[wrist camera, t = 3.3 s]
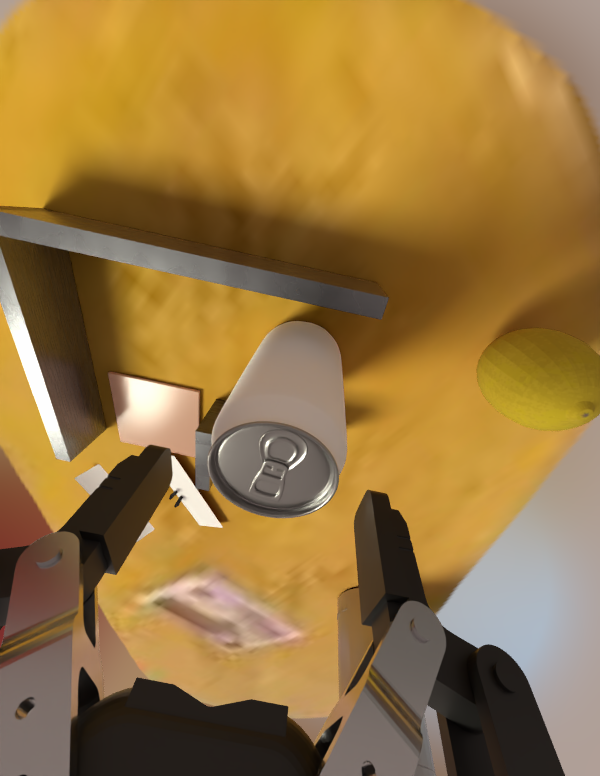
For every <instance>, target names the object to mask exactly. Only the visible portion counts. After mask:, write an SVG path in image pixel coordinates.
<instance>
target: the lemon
mask: <svg viewBox="0 0 600 776" xmlns="http://www.w3.org/2000/svg"><path fill="white" fill-rule="evenodd" d="M477 382H478V385H479V387H480V389H481V391H482V394H483V395H484V397H485V398H486V400H487V401H488V402H489V403H490V404H491V405H492V406H493V407H494V408H495V409H496V410H497V411H498V412H499V413H501V414H502V415H504V416H505V417H507V418H509V419H510V420H512V421H514V422H516V423H518V424H520V425H522V426H525V427H528V428H532V429H536V430H541V431H561V430H568V429H572V428H575V427H579V426H581V425H583V424H586V423H588V422H590V421H591V420H593V419H594V418H596V417H597V416H598V415H599V414H600V356H599V355H598V354H597V353H596V352H595V351H594V350H593V349H592V348H591V347H590V346H588V345H587V344H586V343H584V342H583V341H581V340H579V339H578V338H575V337H573V336H570V335H568V334H566V333H563V332H560V331H557V330H552V329H544V328H527V329H519V330H516V331H513V332H510V333H507V334H505V335H503V336H501V337H499V338H497V339H496V340H495V341H493V342H492V343H491V344H490V345H489V346H488V347H487V348H486V349H485V350H484V352H483V353H482V355H481V357H480V359H479V362H478V366H477Z"/></svg>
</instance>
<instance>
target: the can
mask: <svg viewBox="0 0 600 776" xmlns="http://www.w3.org/2000/svg"><path fill="white" fill-rule="evenodd" d="M211 442H212V447H211V449H210V451H209V454H208V459H207V466H208V472H209V475H210V478H211V480H212V482H213V484H214V485H215V487H216V488H217V489H218V491H219V492H220V493H221V494H222V495H223V496H224V497H225V498H226V499H228V500H229V501H230V502H232V503H233V504H235V505H236V506H238V507H240V508H242V509H244V510H246V511H249V512H251V513H254V514H258V515H261V516H266V517H273V518H294V517H300V516H304V515H307V514H310V513H313V512H315V511H317V510H319V509H320V508H322V507H323V506H324V505H326V504H327V503H328V502H329V501H330V500H331V498H332V497H333V496H334V494H335V492H336V490H337V487H338V483H339V475H340V473H341V471H342V469H343V467H344V464H345V461H346V455H347V433H346V416H345V401H344V387H343V374H342V362H341V354H340V350H339V347H338V345H337V343H336V341H335V340H334V338H333V337H332V336H331V335H330V334H329V333H328V332H327V331H326V330H325V329H324V328H322V327H320V326H318V325H316V324H313V323H309V322H303V321H291V322H286V323H283V324H281V325H279V326H277V327H275V328H274V329H273V330H271V331H270V332H269V333H268V334H267V335H266V337H265V338H264V339H263V341H262V343H261V344H260V346H259V347H258V349H257V351H256V352H255V354H254V355H253V357H252V359H251V360H250V362H249V364H248V365H247V367H246V369H245V370H244V372H243V374H242V375H241V377H240V379H239V380H238V382H237V384H236V385H235V387H234V389H233V390H232V392H231V394H230V395H229V397H228V399H227V401H226V402H225V404H224V406H223V407H222V409H221V411H220V413H219V415H218V417H217V419H216V421H215V424H214V426H213V430H212V439H211Z"/></svg>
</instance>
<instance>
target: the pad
mask: <svg viewBox="0 0 600 776" xmlns="http://www.w3.org/2000/svg"><path fill="white" fill-rule="evenodd" d="M108 376H109V382H110V387H111V393H112V398H113V403H114V409H115V414H116V419H117V425H118V430H119V435H120V441H121V442H125V443H130V444H135V445H139V446H144V447H147V446H148V445H156V446H161V447H166V448H170V450H171V452H172V453H177V454H182V455H186V456H191V457H195V431H196V429H197V428H198V426H199V425H200V391H199V390H195V389H190V388H185V387H181V386H176V385H171V384H167V383H162V382H157V381H153V380H148V379H144V378H139V377H134V376H130V375H125V374H120V373H116V372H111V371H110V372H108Z"/></svg>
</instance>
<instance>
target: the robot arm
mask: <svg viewBox="0 0 600 776" xmlns="http://www.w3.org/2000/svg"><path fill="white" fill-rule="evenodd" d="M172 476H173V472H172V458H171V450H170V448H166V447H161V446H156V445H148V446H147V447H146V448H145V449H144V451H143V452H142V453H141V454H140V456H134V455H131V456H130V457H128V458H126V459H125V460H123V461H122V462H120V463H119V464H117V465H116V467H115V468H114V469H113V470H112V471H111V472H110V473H109V475H108V477H107V478H105V479H104V480H103V481H102V483H101V484H100V485H99V487H98V488H96V490H95V491H94V492H93V493H92V494H91V495H90V496H89V498H88V499H87V500H86V501H85V502H84V503H83V504H82V506H81V507H80V508H79V509H78V510H77V511H76V512H75V514H74V515H73V516H72V517H71V518H70V519H69V520H68V522H67V523H66V524H65V525H64V526H63V527H62V528H61V529H60V530H59V531H57V532H55V533H51V534H49V535H46V536H44V537H42V538H40V539H38V540H37V541H35V542H34V543H32V544H31V545H29V546H23V547H16V548H8V549H0V630H1V628H2V627H3V626H4V625H6V626H5V632H4V638H3V642H2V645H1V648H0V776H436V774H435V769H434V763H433V758H432V752H431V747H430V742H429V736H428V731H427V726H426V720H425V715H424V713H425V710H426V707H427V705H428V706H430V707H431V708H433V709H434V710H436V712H437V717H438V723H439V729H440V734H441V740H442V746H443V751H444V757H445V763H446V768H447V774H448V776H565V774H564V772H563V769H562V767H561V764H560V762H559V759H558V757H557V754H556V751H555V749H554V746H553V744H552V741H551V739H550V736H549V734H548V731H547V728H546V726H545V723H544V721H543V718H542V715H541V713H540V710H539V708H538V705H537V703H536V700H535V698H534V695H533V692H532V690H531V687H530V685H529V683H528V680H527V678H526V676H525V675H524V673H523V671H522V670H521V668H520V667H519V666H518V664H517V663H516V662H515V661H514V660H513V659H512V658H511V656H509V655H508V654H507V653H506V652H505V651H503V650H502V649H500V648H498V647H496V646H493V645H484V646H482V647H480V648H479V649H478V648H476V647H475V646H473V645H471V644H470V643H468V642H466V641H464V640H463V639H461V638H459V637H458V636H456V635H454V634H453V633H451V632H450V631H448V630H447V629H446V628H444V627H443V626H442V625H441V623H440V621H439V619H438V618H437V616H436V615H435V614H434V613H433V612H432V611H431V610H430V608H429V606H428V604H427V601H426V598H425V594H424V590H423V586H422V582H421V578H420V574H419V570H418V566H417V562H416V558H415V555H414V553H413V547H412V543H411V541H410V535H409V531H408V527H407V523H406V522H405V520H404V519H403V517H402V515H401V514H400V512H399V510H394V509H391V507H390V502H389V497H388V495H387V494H386V493H381V492H376V491H371V490H367V491H366V493H365V495H364V497H363V499H362V501H361V503H360V505H359V508H358V510H357V512H356V515H355V520H354V532H355V545H356V558H357V571H358V584H359V588H354V589H350V590H348V591H345V592H344V593H342V594H341V595H340V596H339V598H338V613H337V619H338V666H339V701H338V703H337V704H336V705H335V707H334V708H333V710H332V712H331V713H330V715H329V717H328V718H327V720H326V722H325V724H324V725H323V727H322V729H321V731H320V733H319V735H318V736H317V738H316V740H315V742H314V744H313V742H312V741H311V739H310V738H309V736H308V735H307V734H306V733H305V731H304V730H303V729H302V728H301V727H300V726H299V725H298V724H297V723H296V722H295V721H293V720H292V719H291V718H289V717H288V716H287V715H288V706H283V705H278V704H273V703H267V702H262V701H257V700H252V699H251V700H246V701H241V702H236V703H230V704H225V705H220V706H215V707H208V706H206V705H204V704H203V703H201V702H200V701H198V700H197V699H195V698H194V697H192V696H191V695H189V694H188V693H186V692H185V691H183V690H182V689H180V688H179V687H177V686H175V685H173V684H168V683H163V682H158V681H152V680H147V679H142V678H136V681H135V683H134V685H133V688H128V689H125V690H122V691H119V692H116V693H114V694H112V695H110V696H108V697H106V698H104V679H103V668H102V662H101V657H100V650H99V626H98V595H97V584H98V583H99V581H100V580H101V578H102V576H103V575H104V573H109V574H114V575H116V574H117V573H118V571H119V570H120V568H121V566H122V565H123V563H124V561H125V560H126V558H127V556H128V555H129V553H130V551H131V550H132V548H133V546H134V545H135V543H136V541H137V540H138V538H139V536H140V535H141V533H142V531H143V530H144V528H145V527H146V525H147V523H148V522H149V520H150V518H151V517H152V515H153V513H154V512H155V510H156V508H157V507H158V505H159V503H160V502H161V500H162V498H163V497H164V495H165V493H166V492H167V490H168V488H169V486H170V484H171V481H172Z"/></svg>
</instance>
